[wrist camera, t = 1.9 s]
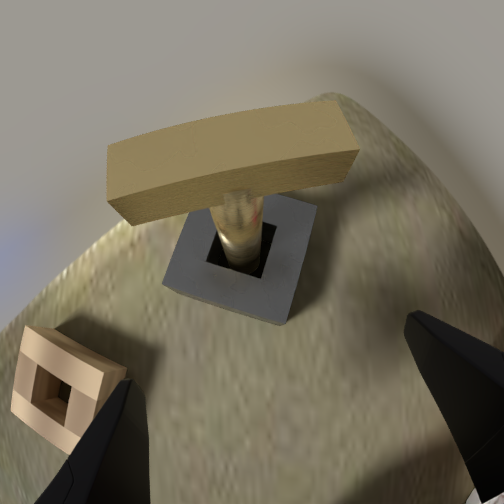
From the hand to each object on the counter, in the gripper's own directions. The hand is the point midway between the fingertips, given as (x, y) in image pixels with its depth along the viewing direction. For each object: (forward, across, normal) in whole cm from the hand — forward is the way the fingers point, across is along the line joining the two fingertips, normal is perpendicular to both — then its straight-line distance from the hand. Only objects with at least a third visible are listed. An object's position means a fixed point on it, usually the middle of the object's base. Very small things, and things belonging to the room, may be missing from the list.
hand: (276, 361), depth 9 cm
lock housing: (+14, 0, +4) cm, 15 cm away
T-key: (+14, 0, +4) cm, 15 cm away
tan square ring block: (+8, +16, +10) cm, 21 cm away
